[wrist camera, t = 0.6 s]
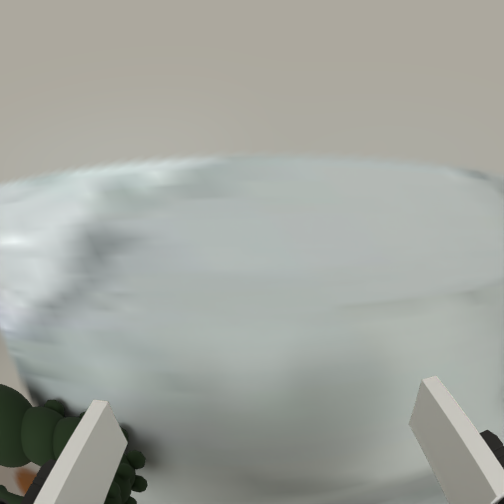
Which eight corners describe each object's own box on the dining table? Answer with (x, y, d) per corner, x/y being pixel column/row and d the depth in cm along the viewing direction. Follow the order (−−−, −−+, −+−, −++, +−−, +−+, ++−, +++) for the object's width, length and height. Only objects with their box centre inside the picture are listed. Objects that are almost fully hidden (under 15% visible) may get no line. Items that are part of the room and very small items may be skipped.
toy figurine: (163, 409, 28) (-8, 365, 27) (73, 492, 9) (-117, 365, 9) (165, 484, 26) (-3, 429, 25) (104, 593, 7) (-100, 454, 7)
